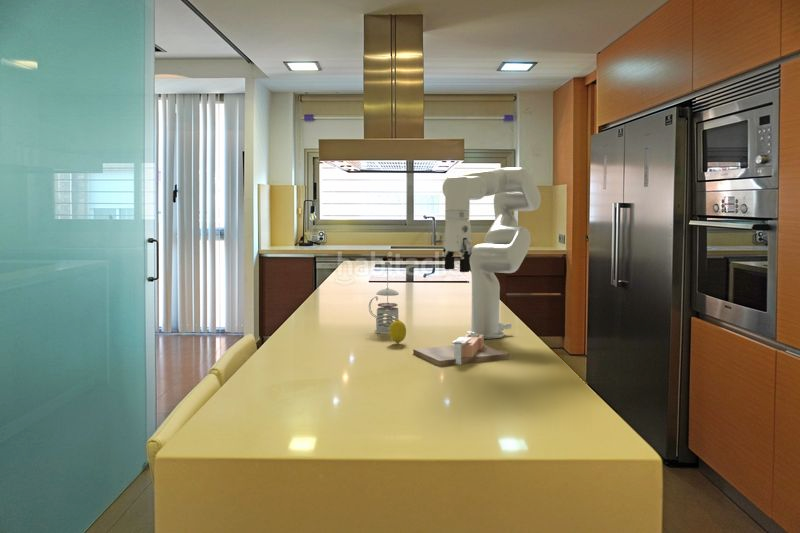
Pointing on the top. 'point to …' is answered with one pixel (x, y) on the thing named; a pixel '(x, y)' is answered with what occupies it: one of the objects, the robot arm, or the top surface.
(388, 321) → the french press
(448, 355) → the walnut plate
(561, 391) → the top surface
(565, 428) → the top surface
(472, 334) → the cylinder
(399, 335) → the lemon
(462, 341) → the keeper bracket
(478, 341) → the link
